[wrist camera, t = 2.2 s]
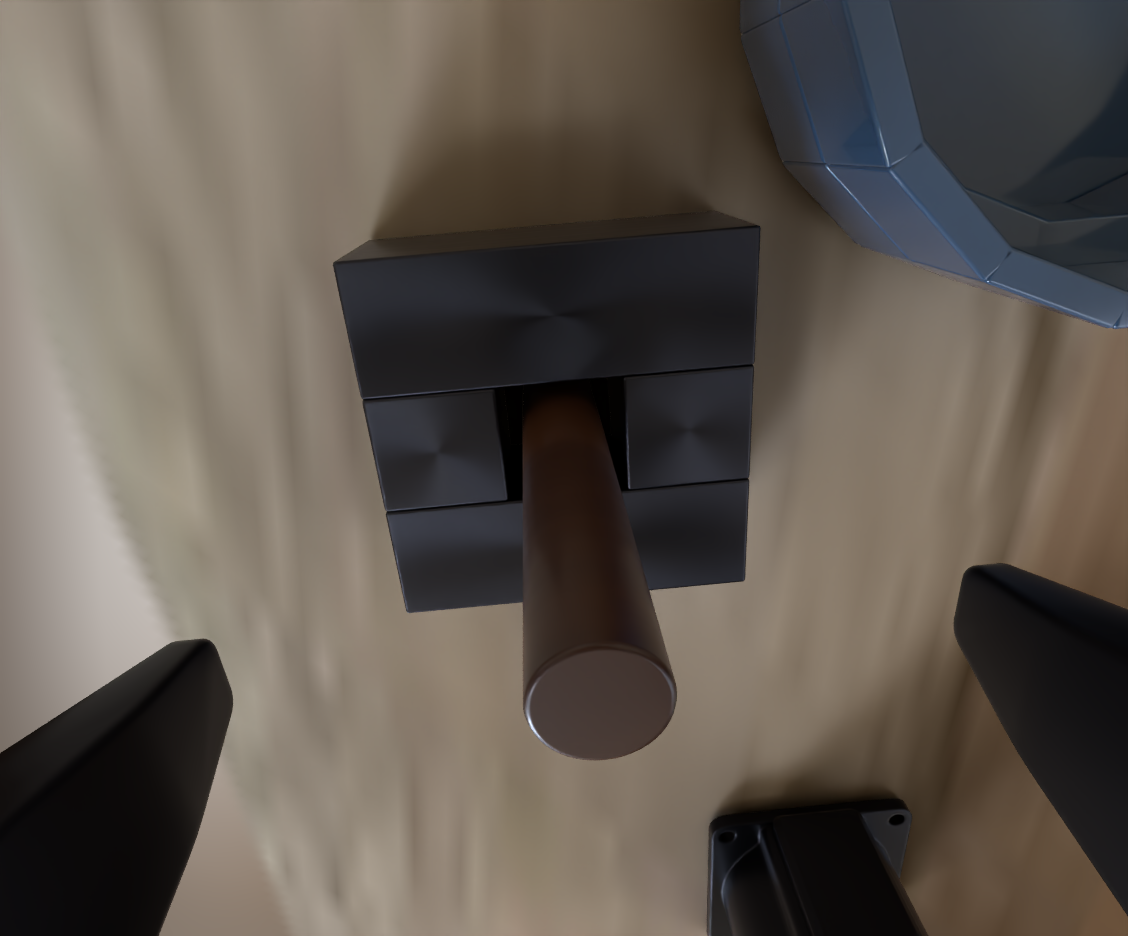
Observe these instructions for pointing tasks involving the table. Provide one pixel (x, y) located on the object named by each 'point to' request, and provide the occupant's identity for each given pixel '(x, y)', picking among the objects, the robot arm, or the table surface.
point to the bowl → (961, 136)
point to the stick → (584, 589)
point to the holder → (555, 354)
